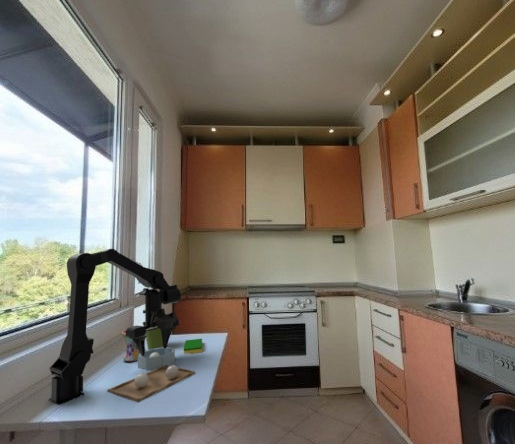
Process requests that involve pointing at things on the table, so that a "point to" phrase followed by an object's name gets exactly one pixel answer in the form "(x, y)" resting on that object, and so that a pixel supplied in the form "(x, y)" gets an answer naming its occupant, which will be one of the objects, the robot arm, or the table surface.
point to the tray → (149, 384)
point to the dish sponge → (193, 346)
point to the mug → (130, 349)
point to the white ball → (154, 354)
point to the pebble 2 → (172, 372)
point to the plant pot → (154, 338)
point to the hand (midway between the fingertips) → (154, 351)
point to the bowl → (156, 358)
